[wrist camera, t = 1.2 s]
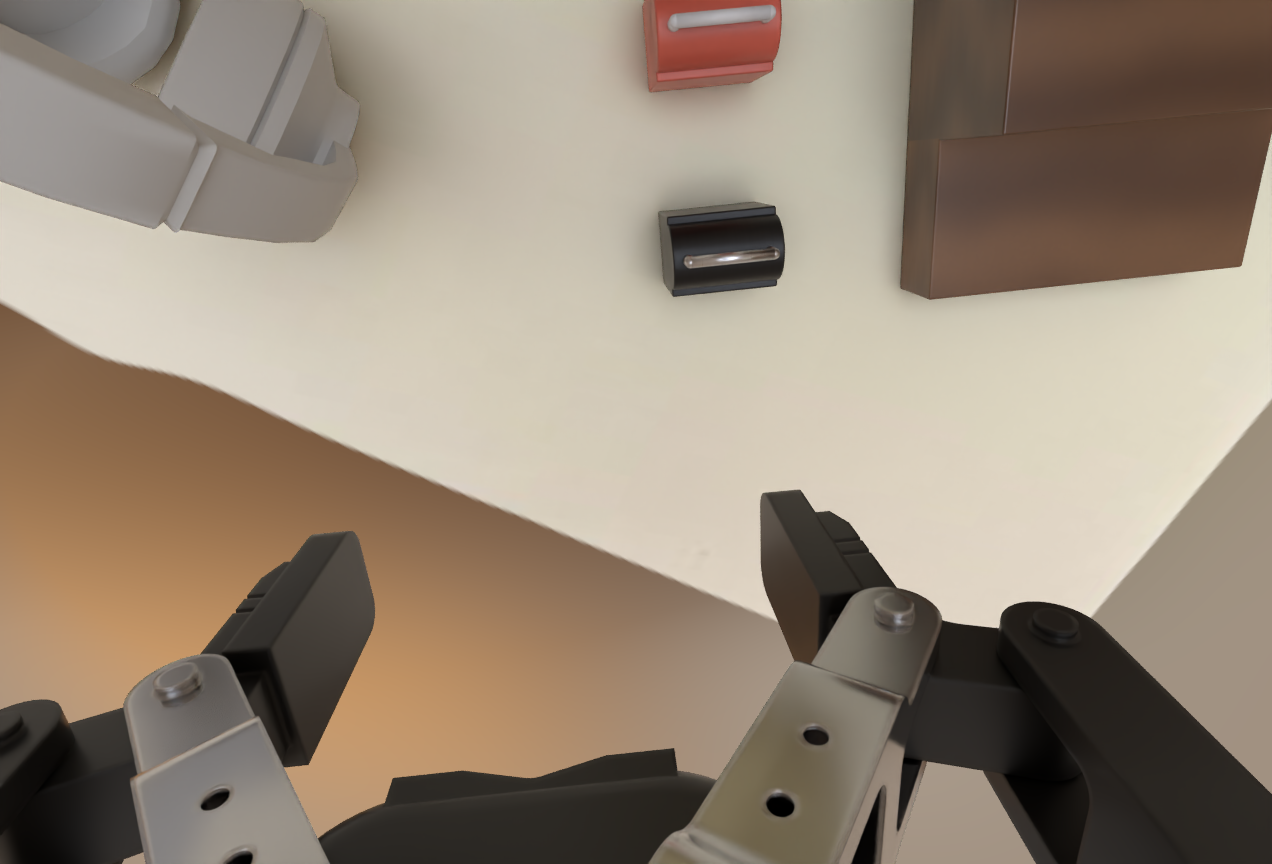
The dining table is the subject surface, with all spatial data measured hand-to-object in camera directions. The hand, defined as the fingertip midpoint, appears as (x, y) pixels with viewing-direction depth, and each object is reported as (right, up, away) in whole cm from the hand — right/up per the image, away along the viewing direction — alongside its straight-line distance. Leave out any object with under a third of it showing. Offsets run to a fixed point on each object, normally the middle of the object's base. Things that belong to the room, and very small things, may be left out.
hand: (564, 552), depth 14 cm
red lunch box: (+4, +18, +15) cm, 24 cm away
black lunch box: (+5, +11, +18) cm, 21 cm away
